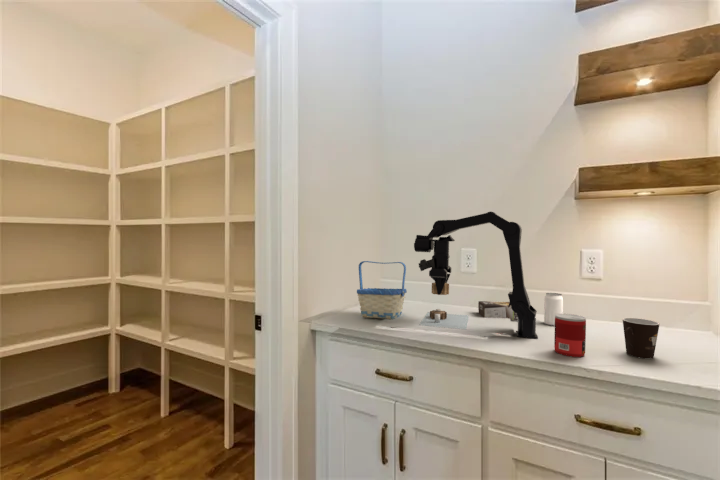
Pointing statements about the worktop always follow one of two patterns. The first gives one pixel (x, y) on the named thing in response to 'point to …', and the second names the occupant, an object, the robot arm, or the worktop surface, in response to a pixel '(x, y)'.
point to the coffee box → (496, 310)
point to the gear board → (446, 321)
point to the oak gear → (444, 291)
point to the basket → (381, 299)
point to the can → (552, 307)
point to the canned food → (570, 335)
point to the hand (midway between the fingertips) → (440, 293)
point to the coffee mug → (640, 337)
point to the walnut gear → (442, 313)
